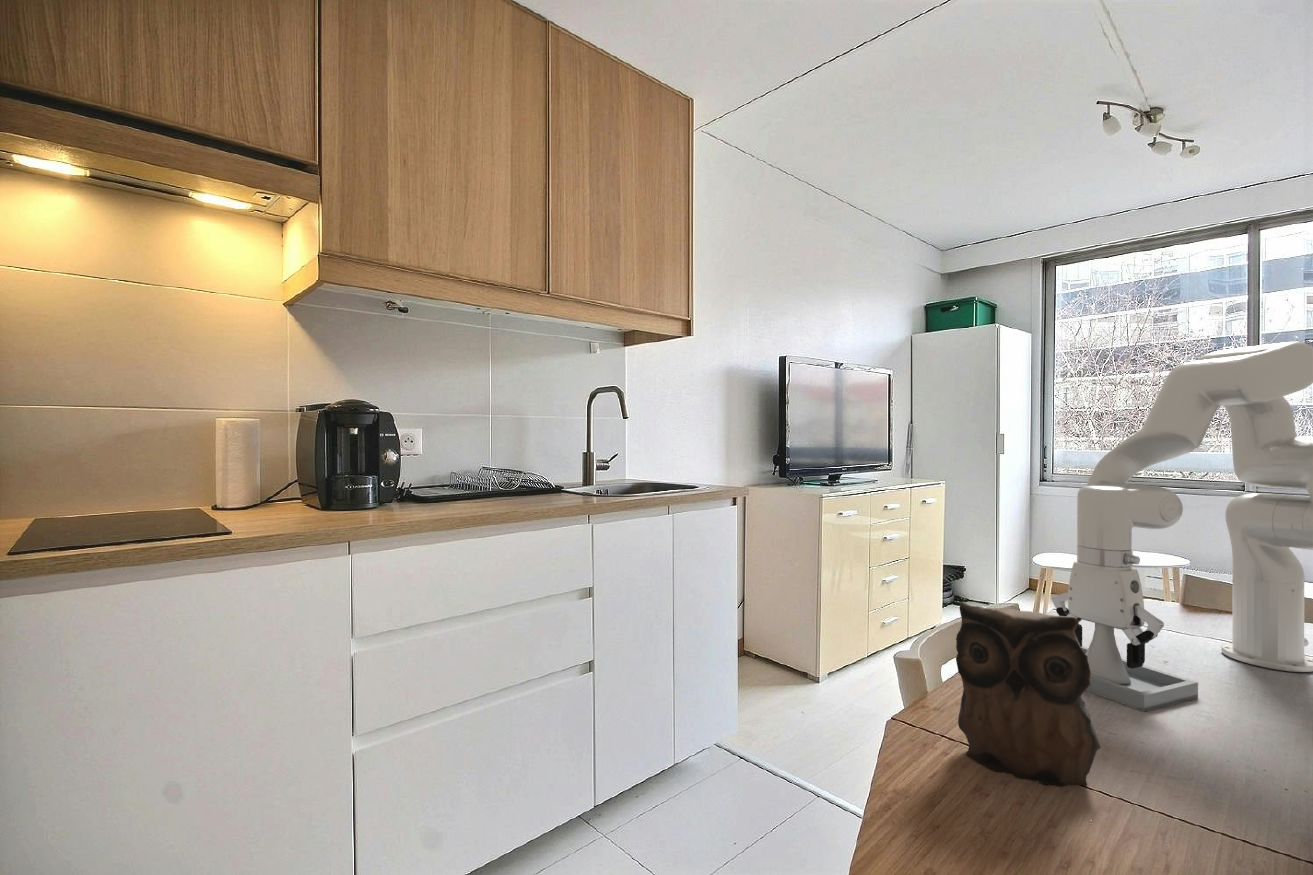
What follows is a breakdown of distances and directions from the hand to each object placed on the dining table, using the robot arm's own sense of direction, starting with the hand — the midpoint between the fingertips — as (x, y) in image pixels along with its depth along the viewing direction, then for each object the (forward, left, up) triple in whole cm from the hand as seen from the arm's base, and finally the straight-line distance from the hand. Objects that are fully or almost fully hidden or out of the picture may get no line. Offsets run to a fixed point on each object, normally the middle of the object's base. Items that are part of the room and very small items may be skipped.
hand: (1103, 656), depth 102 cm
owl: (+37, +13, -4) cm, 39 cm away
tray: (0, 0, -4) cm, 4 cm away
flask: (0, 0, -4) cm, 4 cm away
